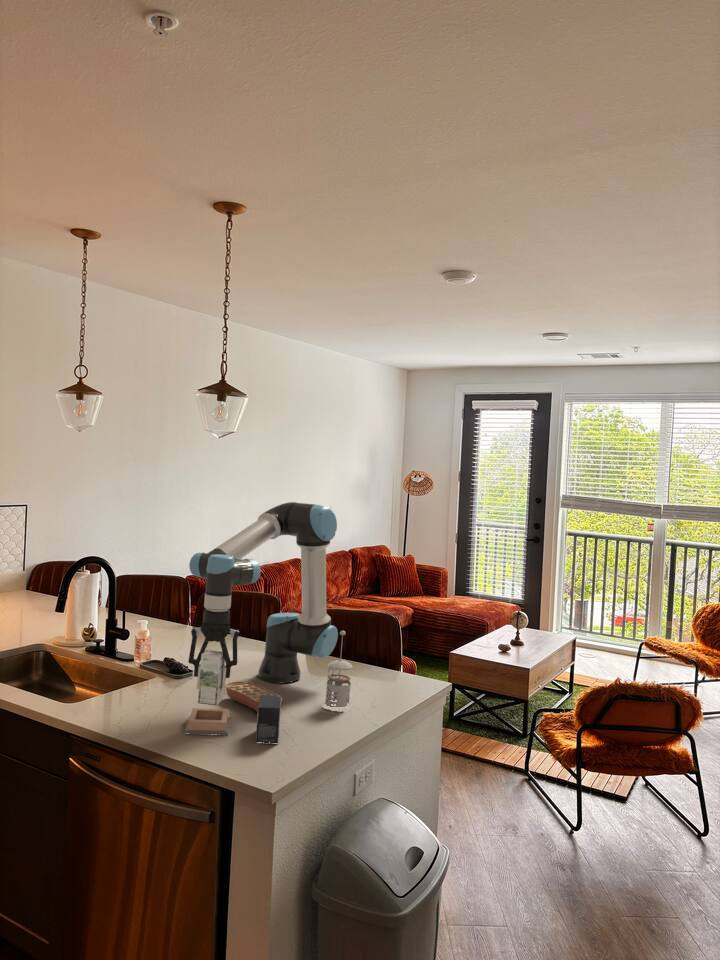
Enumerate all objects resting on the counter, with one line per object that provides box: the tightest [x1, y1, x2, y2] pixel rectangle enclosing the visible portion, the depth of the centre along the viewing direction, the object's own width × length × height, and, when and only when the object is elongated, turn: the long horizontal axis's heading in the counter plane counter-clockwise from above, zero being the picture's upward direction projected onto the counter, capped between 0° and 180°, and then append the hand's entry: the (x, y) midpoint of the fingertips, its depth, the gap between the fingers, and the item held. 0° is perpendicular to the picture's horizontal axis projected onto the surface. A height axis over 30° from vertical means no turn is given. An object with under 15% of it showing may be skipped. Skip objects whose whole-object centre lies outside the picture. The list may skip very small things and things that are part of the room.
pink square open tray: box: [184, 707, 232, 736], centre depth 208 cm, size 12×12×4 cm
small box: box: [255, 695, 282, 744], centre depth 204 cm, size 11×6×10 cm, turn 5°
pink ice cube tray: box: [225, 681, 283, 713], centre depth 228 cm, size 23×10×5 cm, turn 45°
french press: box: [324, 630, 354, 707], centre depth 235 cm, size 10×12×25 cm
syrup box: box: [197, 649, 226, 706], centre depth 208 cm, size 6×6×14 cm
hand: (211, 688), depth 208 cm, fingers closed on syrup box, 6 cm apart
